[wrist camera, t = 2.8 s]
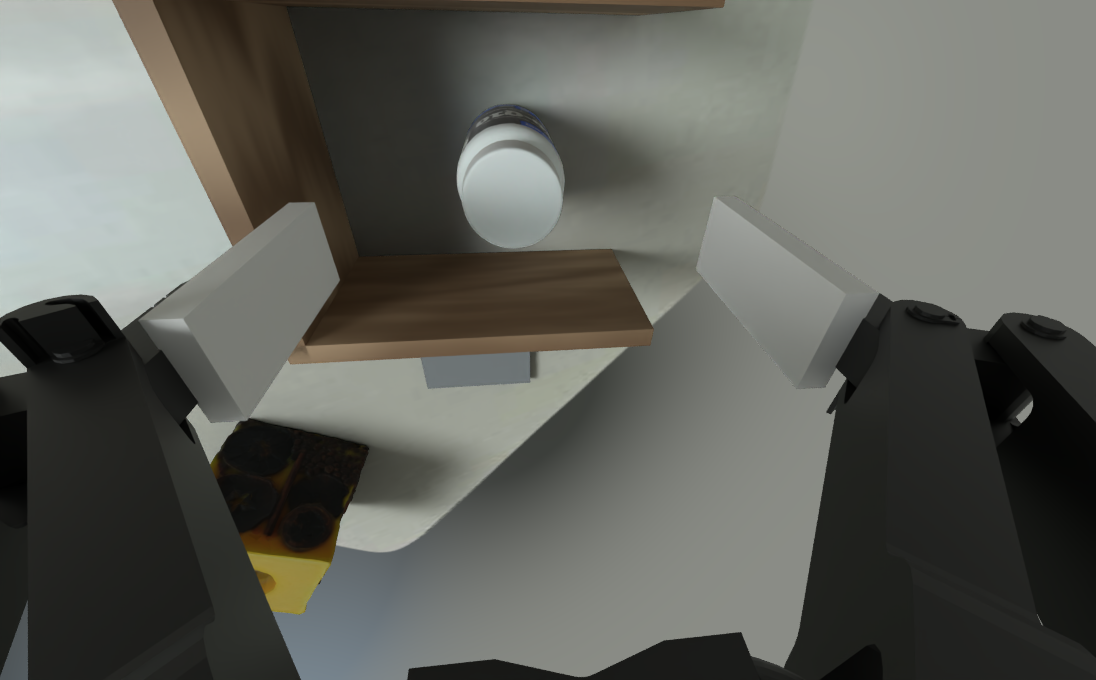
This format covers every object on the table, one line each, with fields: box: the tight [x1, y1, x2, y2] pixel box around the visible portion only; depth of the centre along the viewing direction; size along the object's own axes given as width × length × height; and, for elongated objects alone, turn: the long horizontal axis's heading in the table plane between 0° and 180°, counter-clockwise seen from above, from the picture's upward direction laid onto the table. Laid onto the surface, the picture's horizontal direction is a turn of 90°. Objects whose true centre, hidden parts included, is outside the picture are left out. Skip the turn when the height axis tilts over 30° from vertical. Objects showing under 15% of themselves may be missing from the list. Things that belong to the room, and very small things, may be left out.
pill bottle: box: [457, 104, 565, 249], centre depth 19 cm, size 5×5×8 cm
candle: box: [210, 420, 369, 614], centre depth 33 cm, size 10×10×10 cm
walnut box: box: [112, 0, 725, 364], centre depth 19 cm, size 14×17×9 cm
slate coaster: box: [421, 352, 530, 389], centre depth 30 cm, size 8×8×1 cm
